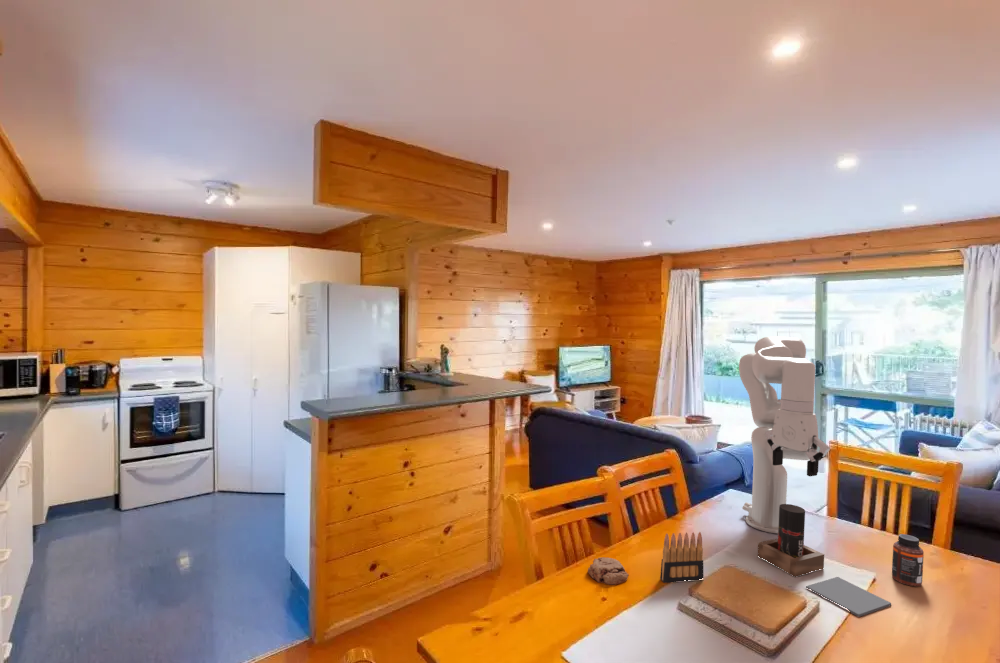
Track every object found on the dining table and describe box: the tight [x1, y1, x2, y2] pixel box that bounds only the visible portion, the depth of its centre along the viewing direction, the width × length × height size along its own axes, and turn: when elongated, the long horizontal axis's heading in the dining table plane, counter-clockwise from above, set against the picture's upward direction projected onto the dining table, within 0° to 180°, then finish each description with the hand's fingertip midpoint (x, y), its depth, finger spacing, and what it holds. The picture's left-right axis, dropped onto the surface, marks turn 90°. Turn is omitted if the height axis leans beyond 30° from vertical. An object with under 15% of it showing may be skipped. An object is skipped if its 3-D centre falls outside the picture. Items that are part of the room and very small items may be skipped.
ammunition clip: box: [659, 531, 704, 584], centre depth 120 cm, size 11×2×12 cm, turn 98°
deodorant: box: [777, 503, 806, 558], centre depth 130 cm, size 6×6×15 cm
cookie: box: [587, 557, 629, 586], centre depth 123 cm, size 10×11×3 cm
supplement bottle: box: [891, 533, 925, 587], centre depth 122 cm, size 6×6×11 cm
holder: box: [756, 537, 825, 578], centre depth 130 cm, size 11×11×4 cm
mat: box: [805, 576, 892, 618], centre depth 115 cm, size 12×12×1 cm
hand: (794, 470), depth 129 cm, fingers open, 9 cm apart
